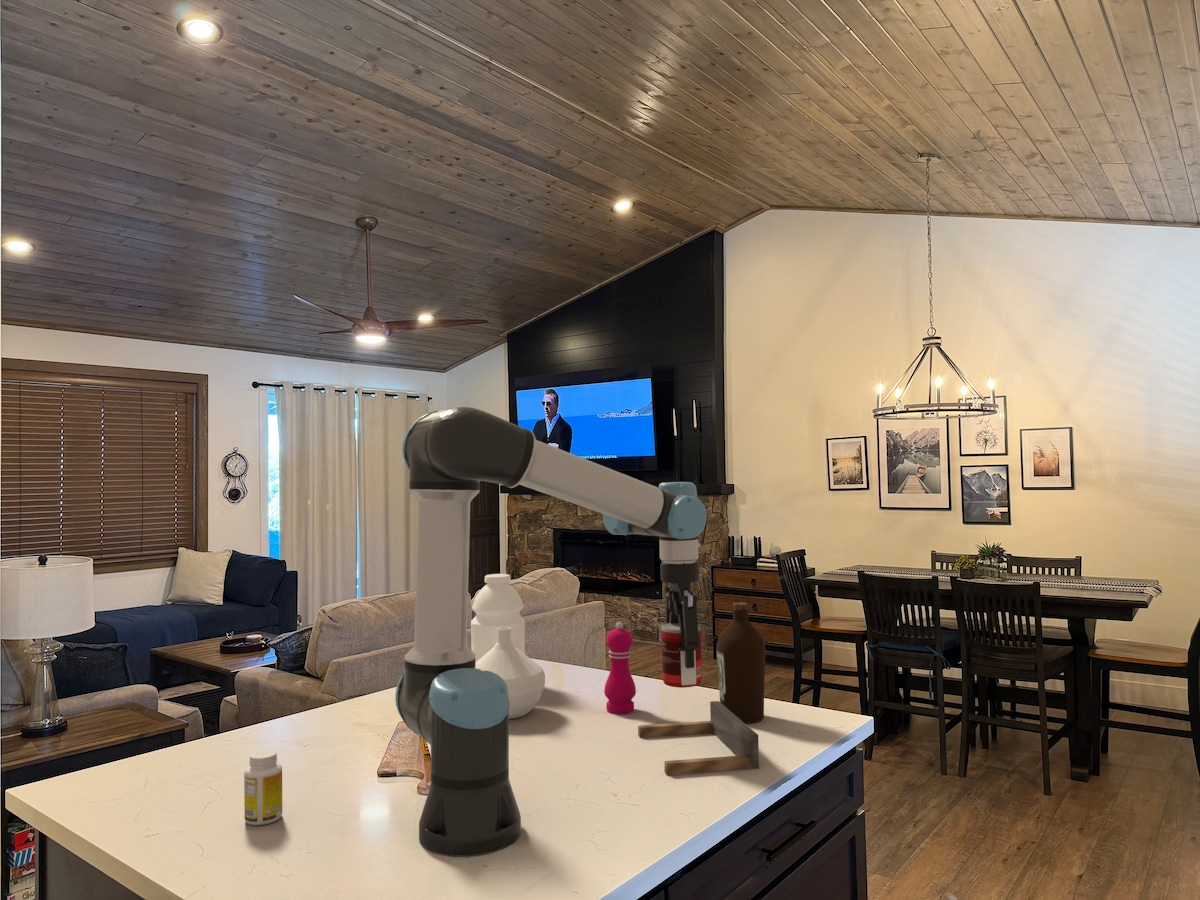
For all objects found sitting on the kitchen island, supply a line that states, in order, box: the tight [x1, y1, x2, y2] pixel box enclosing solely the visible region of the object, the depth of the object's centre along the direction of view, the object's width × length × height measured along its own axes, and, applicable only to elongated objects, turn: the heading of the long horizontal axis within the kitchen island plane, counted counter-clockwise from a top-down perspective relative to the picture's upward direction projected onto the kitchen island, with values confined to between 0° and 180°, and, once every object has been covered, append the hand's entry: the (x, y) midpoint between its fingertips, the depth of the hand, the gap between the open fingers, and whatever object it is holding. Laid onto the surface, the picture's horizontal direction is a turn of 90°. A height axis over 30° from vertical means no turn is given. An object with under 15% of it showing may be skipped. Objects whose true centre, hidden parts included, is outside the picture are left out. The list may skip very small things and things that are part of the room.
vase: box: [475, 627, 546, 720], centre depth 188 cm, size 18×18×19 cm
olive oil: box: [716, 601, 767, 724], centre depth 183 cm, size 11×11×25 cm
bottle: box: [470, 573, 526, 662], centre depth 213 cm, size 14×14×28 cm
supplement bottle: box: [243, 749, 283, 826], centre depth 131 cm, size 6×6×10 cm
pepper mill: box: [603, 621, 637, 715], centre depth 189 cm, size 7×7×20 cm
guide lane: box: [637, 700, 760, 776], centre depth 161 cm, size 17×23×6 cm
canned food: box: [660, 623, 703, 689], centre depth 161 cm, size 8×8×11 cm
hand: (682, 678), depth 161 cm, fingers closed on canned food, 8 cm apart
